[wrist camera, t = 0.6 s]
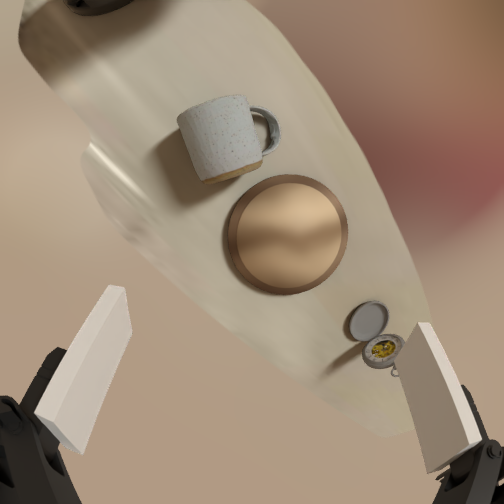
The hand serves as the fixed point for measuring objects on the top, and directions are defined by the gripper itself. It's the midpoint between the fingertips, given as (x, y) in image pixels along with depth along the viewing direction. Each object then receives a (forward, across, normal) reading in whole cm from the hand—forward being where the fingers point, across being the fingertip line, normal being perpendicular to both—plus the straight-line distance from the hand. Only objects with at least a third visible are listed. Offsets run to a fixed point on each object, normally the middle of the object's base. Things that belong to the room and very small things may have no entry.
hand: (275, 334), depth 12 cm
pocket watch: (+22, +18, -19) cm, 35 cm away
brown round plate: (+24, +4, -7) cm, 25 cm away
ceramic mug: (+26, -5, +4) cm, 27 cm away
